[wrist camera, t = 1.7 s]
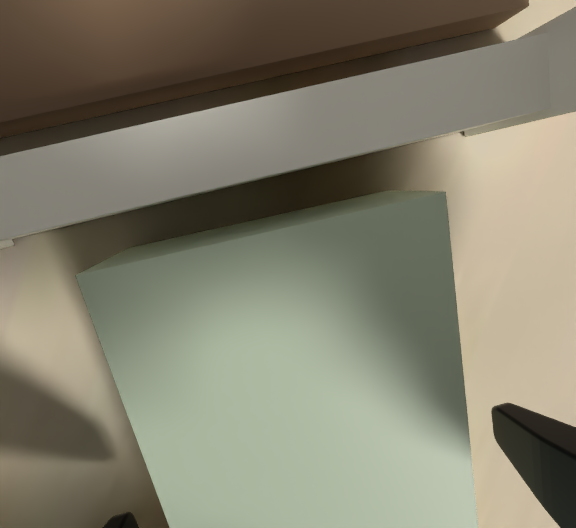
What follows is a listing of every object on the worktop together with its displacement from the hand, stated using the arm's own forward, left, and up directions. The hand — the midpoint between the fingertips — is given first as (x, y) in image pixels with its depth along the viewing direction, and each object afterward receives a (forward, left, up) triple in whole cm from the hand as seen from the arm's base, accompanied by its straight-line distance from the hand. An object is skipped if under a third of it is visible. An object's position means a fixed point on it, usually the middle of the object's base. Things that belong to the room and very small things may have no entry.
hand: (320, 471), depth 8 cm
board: (0, 0, -2) cm, 2 cm away
